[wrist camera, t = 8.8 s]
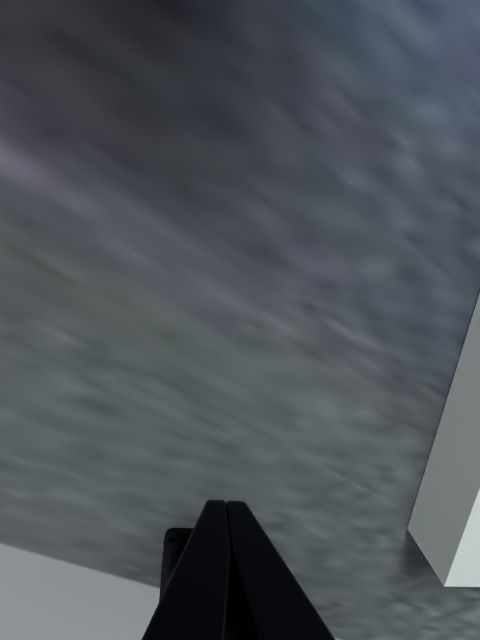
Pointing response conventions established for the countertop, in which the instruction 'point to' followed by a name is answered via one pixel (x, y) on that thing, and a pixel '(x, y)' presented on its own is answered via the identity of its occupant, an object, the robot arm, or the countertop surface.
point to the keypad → (454, 477)
